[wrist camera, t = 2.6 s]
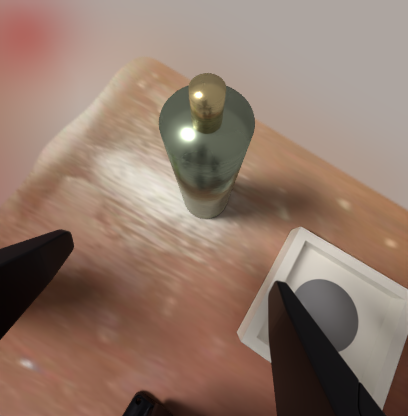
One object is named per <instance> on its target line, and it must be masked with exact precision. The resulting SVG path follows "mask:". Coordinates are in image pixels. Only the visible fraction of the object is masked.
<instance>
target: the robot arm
mask: <svg viewBox="0 0 408 416" xmlns="http://www.w3.org/2000/svg"><path fill="white" fill-rule="evenodd" d="M73 248H74V243H73V239H72V235H71V232H69V231H66V230H62V229H60V230H56V231H53V232H50V233H47V234H44V235H41V236H38V237H35V238H32V239H29V240H26V241H23V242H20V243H17V244H14V245H11V246H8V247H5V248H1V249H0V340H1V339H2V337H3V336H4V335H5V334H6V333H7V332H8V330H9V329H10V328H11V327H12V326H13V325H14V323H15V322H16V321H17V320H18V319H19V318H20V316H21V315H22V314H23V313H24V312H25V311H26V309H27V308H28V307H29V306H30V305H31V304H32V302H33V301H34V300H35V299H36V298H37V297H38V296H39V294H40V293H41V292H42V291H43V290H44V289H45V287H46V286H47V285H48V284H49V283H50V281H51V280H52V279H53V277H54V276H55V275H56V273H57V272H58V270H59V269H60V268H61V266H62V265H63V263H64V262H65V261H66V259H67V258H68V256H69V255H70V254H71V252H72V251H73ZM268 337H269V347H270V356H271V365H272V374H273V383H274V392H275V401H276V409H277V416H386V415H385V413H384V412H383V411H382V410H381V408H380V407H379V406H378V404H377V403H376V402H375V400H374V399H373V398H372V396H371V395H370V394H369V392H368V391H367V390H366V388H365V387H364V386H363V384H362V383H361V382H359V379H358V378H357V377H356V375H355V374H354V373H353V371H352V370H351V368H350V367H349V366H348V364H347V363H346V362H345V360H344V359H343V358H342V356H341V355H340V354H339V352H338V351H337V350H336V348H335V347H334V346H333V344H332V343H331V342H330V340H329V339H328V338H327V336H326V335H325V334H324V332H323V331H322V330H321V328H320V327H319V326H318V324H317V323H316V322H315V320H314V319H313V318H312V316H311V315H310V314H309V312H308V311H307V310H306V308H305V307H304V306H303V304H302V303H301V302H300V300H299V299H298V297H297V296H296V295H295V293H294V292H293V291H292V289H291V288H290V287H289V285H288V284H287V283H286V282H283V281H278V280H276V281H275V282H274V284H273V286H272V288H271V290H270V291H269V294H268ZM137 398H140V399H141V401H140V402H138V401H137ZM122 416H173V415H172V414H171V413H169V412H168V411H167V410H166V409H165V408H163V407H162V406H161V405H160V404H156V403H155V402H154V401H152V400H151V399H150V398H149V397H148V396H146V395H145V394H144V393H143V392H137V393H136V394H135V396H134V397H133V399H132V401H131V402H130V404H129V406H128V407H127V409H126V410H125V412H124V414H123V415H122Z"/></svg>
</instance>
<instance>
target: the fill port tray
mask: <svg viewBox="0 0 408 416" xmlns="http://www.w3.org/2000/svg"><path fill="white" fill-rule="evenodd" d="M276 280H278V281H283V282H286V283H287V284H288V285H289V287H290V288H291V289H292V291H293V292H294V293H295V295H296V296H297V297H298V299H299V300H300V302H301V303H302V304H303V306H304V307H305V308H306V310H307V311H308V312H309V314H310V315H311V316H312V318H313V319H314V320H315V322H316V323H317V324H318V326H319V327H320V328H321V330H322V331H323V332H324V334H325V335H326V336H327V338H328V339H329V340H330V342H331V343H332V344H333V346H334V347H335V348H336V350H337V351H338V352H339V354H340V355H341V356H342V358H343V359H344V360H345V362H346V363H347V364H348V366H349V367H350V368H351V370H352V371H353V373H354V374H355V375H356V377H357V378H358V379H359V382H361V383H362V384H363V386H364V387H365V388H366V390H367V391H368V392H369V394H370V395H371V396H372V398H373V399H374V400H375V402H376V403H377V404H378V406H379V407H380V408H381V410H383V407H384V404H385V401H386V398H387V395H388V392H389V389H390V386H391V383H392V380H393V377H394V374H395V371H396V368H397V365H398V362H399V359H400V356H401V353H402V350H403V347H404V344H405V341H406V338H407V335H408V289H406V288H405V287H403V286H401V285H400V284H398V283H396V282H394V281H393V280H391V279H389V278H388V277H386V276H384V275H383V274H381V273H379V272H377V271H376V270H374V269H372V268H371V267H369V266H367V265H366V264H364V263H362V262H360V261H359V260H357V259H355V258H354V257H352V256H350V255H349V254H347V253H345V252H343V251H342V250H340V249H338V248H337V247H335V246H333V245H332V244H330V243H328V242H326V241H325V240H323V239H321V238H320V237H318V236H316V235H315V234H313V233H311V232H310V231H308V230H306V229H304V228H303V227H298V228H295V229H292V230H291V232H290V233H289V235H288V237H287V239H286V241H285V243H284V245H283V247H282V248H281V250H280V252H279V254H278V256H277V258H276V260H275V262H274V263H273V265H272V267H271V269H270V271H269V273H268V275H267V277H266V278H265V280H264V282H263V284H262V286H261V288H260V290H259V292H258V293H257V295H256V297H255V299H254V301H253V303H252V305H251V307H250V308H249V310H248V312H247V314H246V316H245V318H244V320H243V322H242V323H241V325H240V327H239V329H238V331H237V334H238V336H239V339H240V341H241V342H242V343H244V344H245V345H247V346H248V347H249V348H251V349H252V350H254V351H255V352H256V353H258V354H259V355H261V356H262V357H263V358H265V359H266V360H268V361H269V362H270V363H271V356H270V347H269V337H268V294H269V291H270V290H271V288H272V286H273V284H274V282H275V281H276Z"/></svg>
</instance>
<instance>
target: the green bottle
mask: <svg viewBox="0 0 408 416" xmlns="http://www.w3.org/2000/svg"><path fill="white" fill-rule="evenodd" d="M254 128H255V118H254V114H253V111H252V108H251V106H250V104H249V103H248V101H247V100H246V99H245V98H244V97H243V96H242V95H241V94H240V93H239V92H237V91H236V90H234V89H232V88H230V87H228V86H226V85H225V82H224V81H223V79H221V78H220V77H219V76H217V75H215V74H211V73H204V74H200V75H198V76H196V77H194V78H193V79H192V80H191V82H190V83H189V85H188V86H186V87H184V88H182V89H180V90H178V91H177V92H175V93H174V94H173V95H172V96H171V97H170V98H169V99H168V100H167V101H166V103H165V104H164V106H163V108H162V110H161V113H160V117H159V130H160V133H161V137H162V140H163V142H164V145H165V148H166V151H167V154H168V157H169V160H170V162H171V165H172V168H173V171H174V174H175V177H176V179H177V182H178V185H179V188H180V191H181V194H182V197H183V199H184V202H185V205H186V207H187V209H188V210H189V212H190V213H191V214H193V215H194V216H196V217H198V218H202V219H210V218H214V217H216V216H218V215H219V214H220V213H221V212H222V211H223V210H224V209H225V207H226V204H227V201H228V199H229V196H230V194H231V191H232V188H233V186H234V183H235V180H236V178H237V175H238V173H239V170H240V167H241V165H242V162H243V159H244V157H245V154H246V152H247V149H248V146H249V144H250V141H251V138H252V136H253V133H254Z"/></svg>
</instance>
